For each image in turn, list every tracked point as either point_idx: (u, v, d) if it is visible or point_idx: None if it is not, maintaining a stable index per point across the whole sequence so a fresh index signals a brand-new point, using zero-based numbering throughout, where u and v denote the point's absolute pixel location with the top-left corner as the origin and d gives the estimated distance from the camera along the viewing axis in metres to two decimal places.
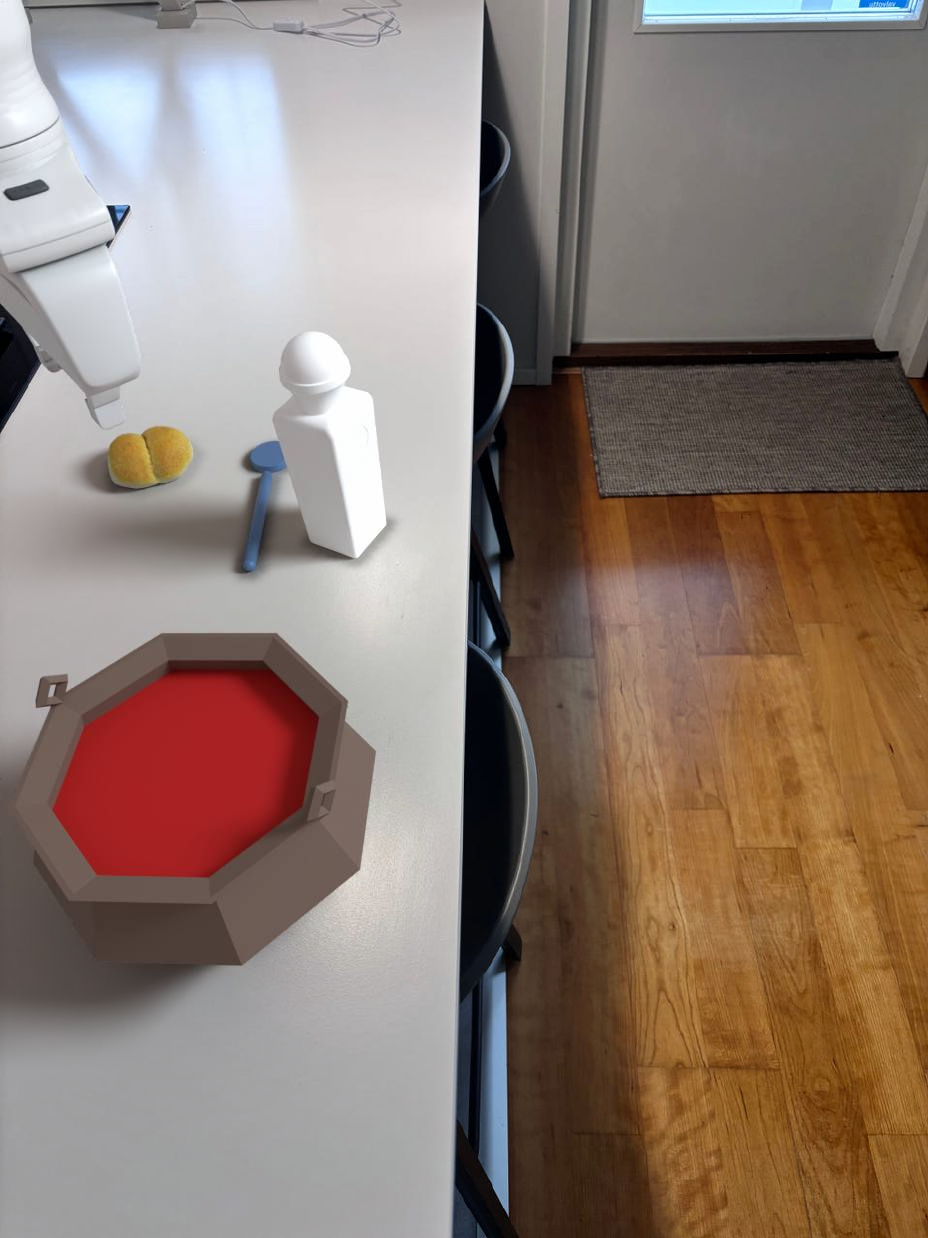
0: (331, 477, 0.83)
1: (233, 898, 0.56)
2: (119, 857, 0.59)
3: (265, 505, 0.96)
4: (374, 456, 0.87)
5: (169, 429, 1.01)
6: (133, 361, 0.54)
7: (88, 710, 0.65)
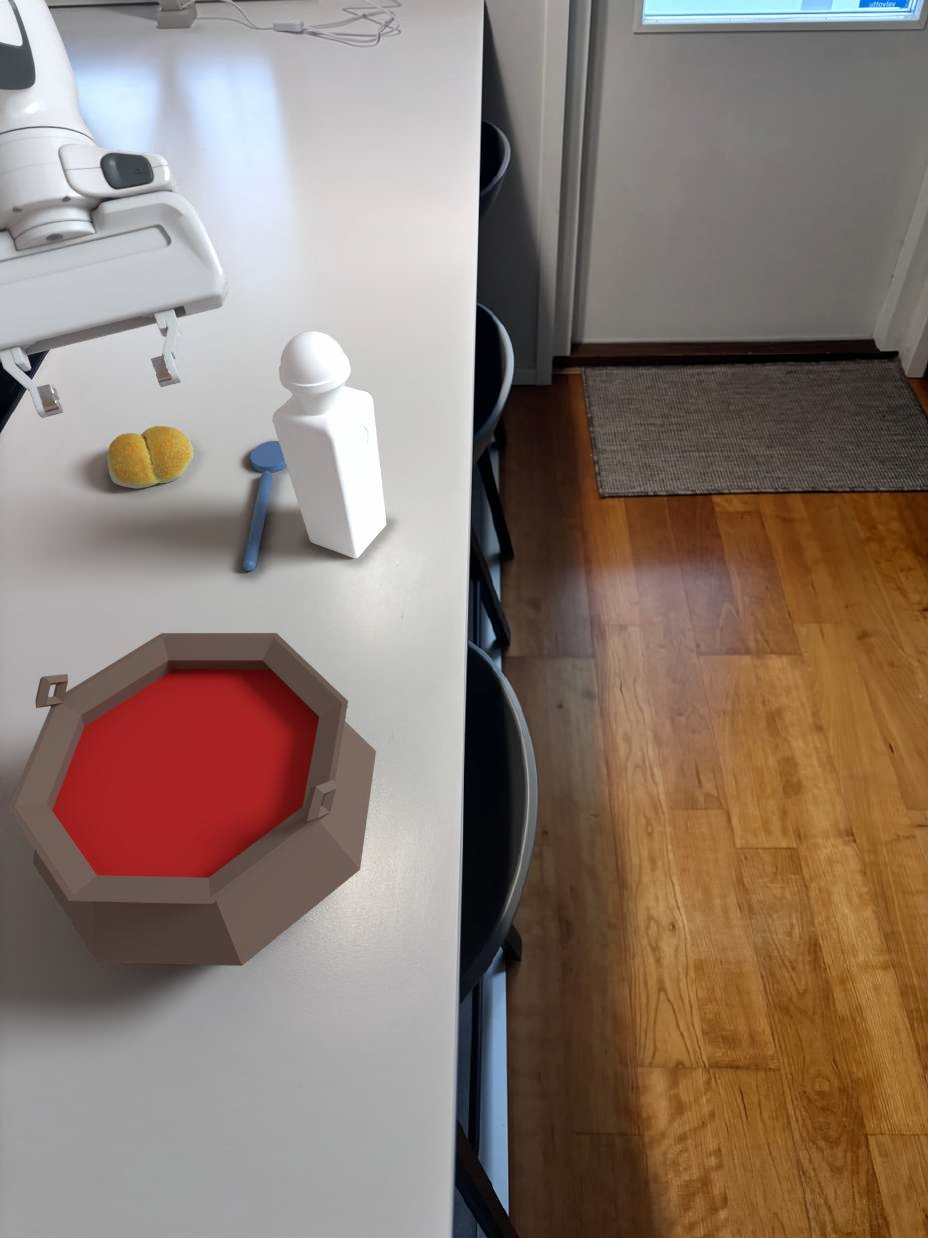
0: (331, 477, 0.83)
1: (233, 898, 0.56)
2: (119, 858, 0.59)
3: (265, 505, 0.96)
4: (374, 456, 0.87)
5: (169, 429, 1.01)
6: None
7: (88, 710, 0.65)
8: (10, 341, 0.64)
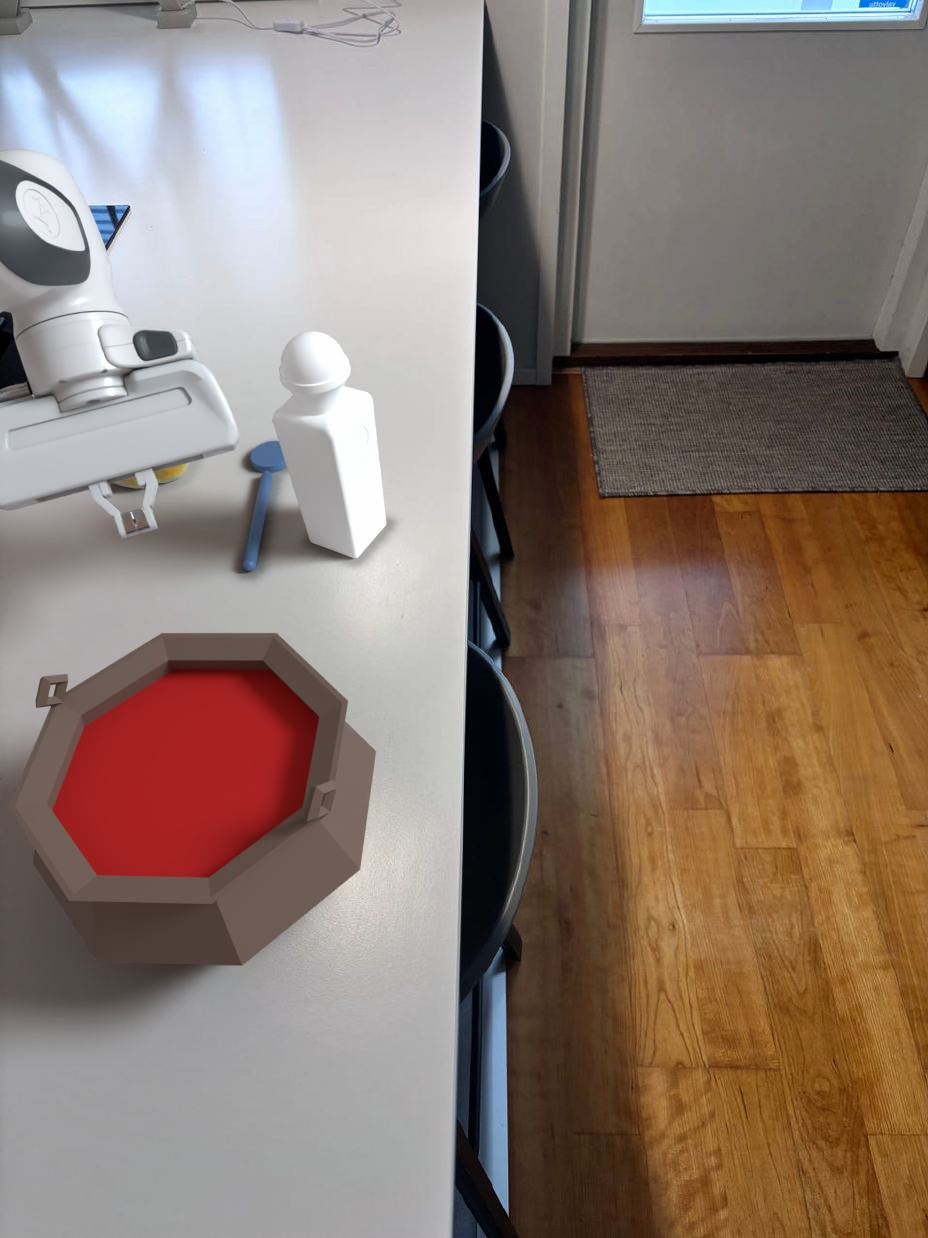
0: (331, 477, 0.83)
1: (233, 898, 0.56)
2: (119, 857, 0.59)
3: (265, 505, 0.96)
4: (374, 456, 0.87)
5: None
6: None
7: (88, 710, 0.65)
8: (54, 489, 0.74)
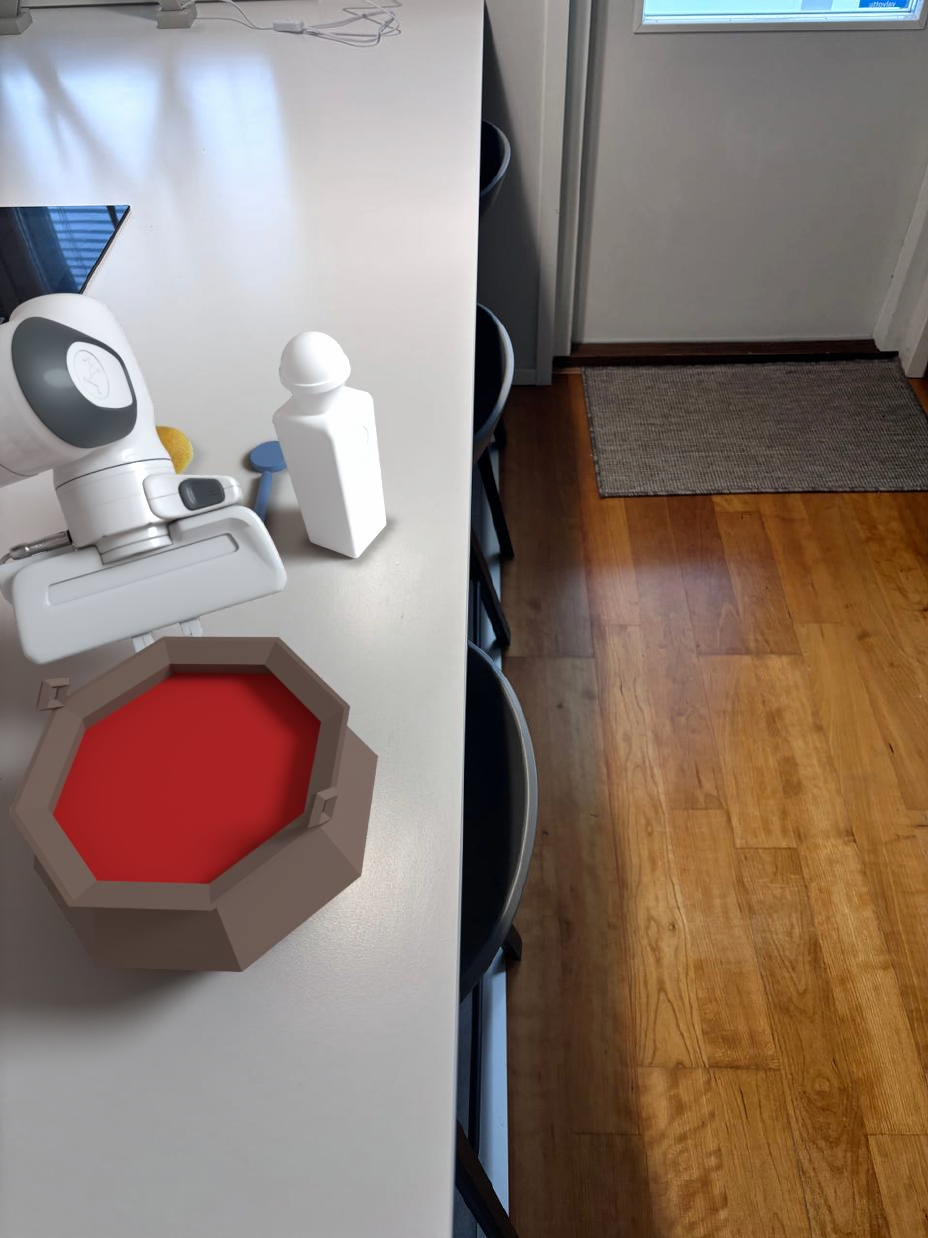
0: (331, 477, 0.83)
1: (233, 904, 0.56)
2: (119, 863, 0.59)
3: (265, 505, 0.96)
4: (374, 456, 0.87)
5: (169, 429, 1.01)
6: None
7: (89, 714, 0.64)
8: (97, 644, 0.71)
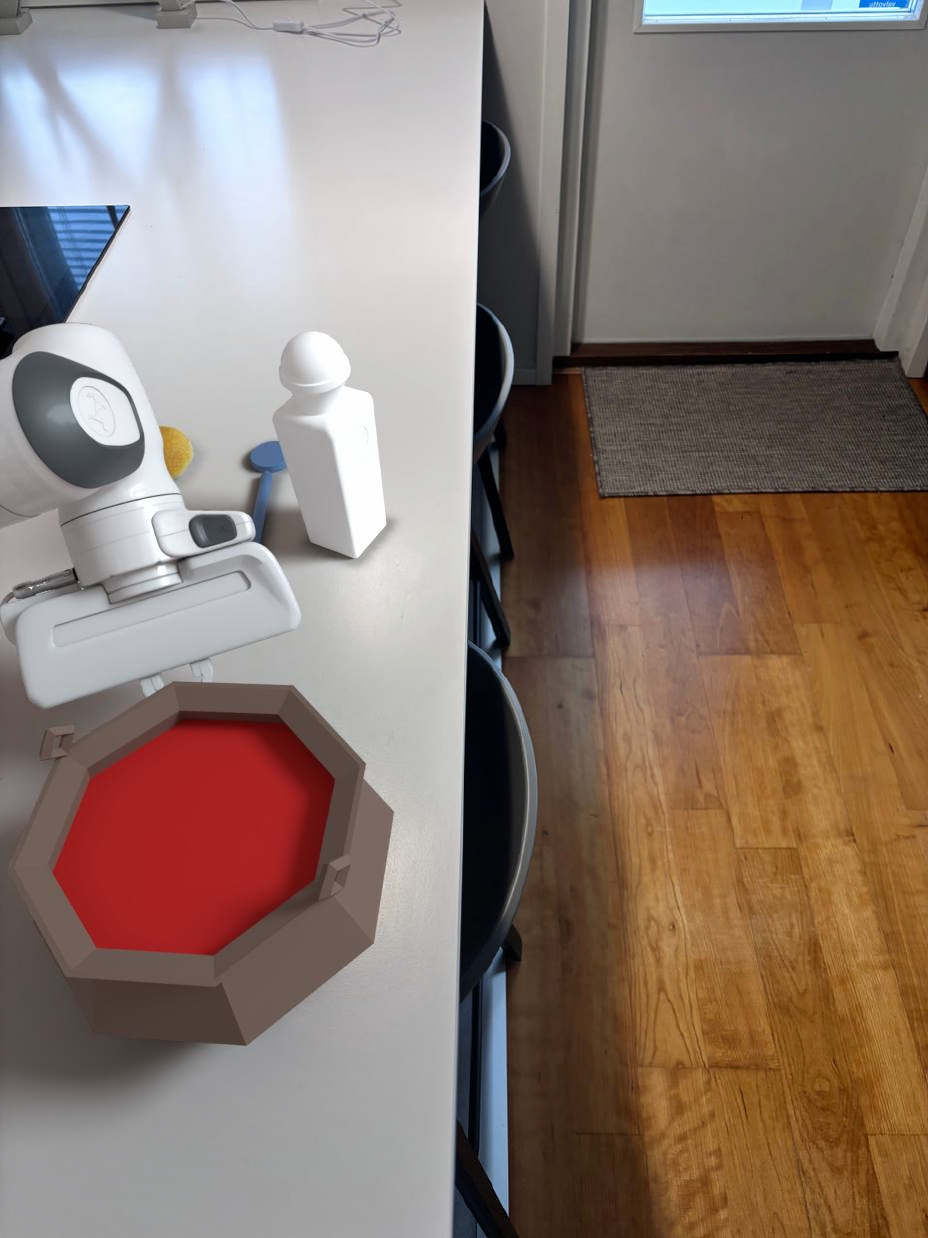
0: (331, 477, 0.83)
1: (239, 976, 0.53)
2: (121, 926, 0.56)
3: (265, 505, 0.96)
4: (374, 456, 0.87)
5: (169, 429, 1.01)
6: None
7: (94, 763, 0.62)
8: (104, 687, 0.68)
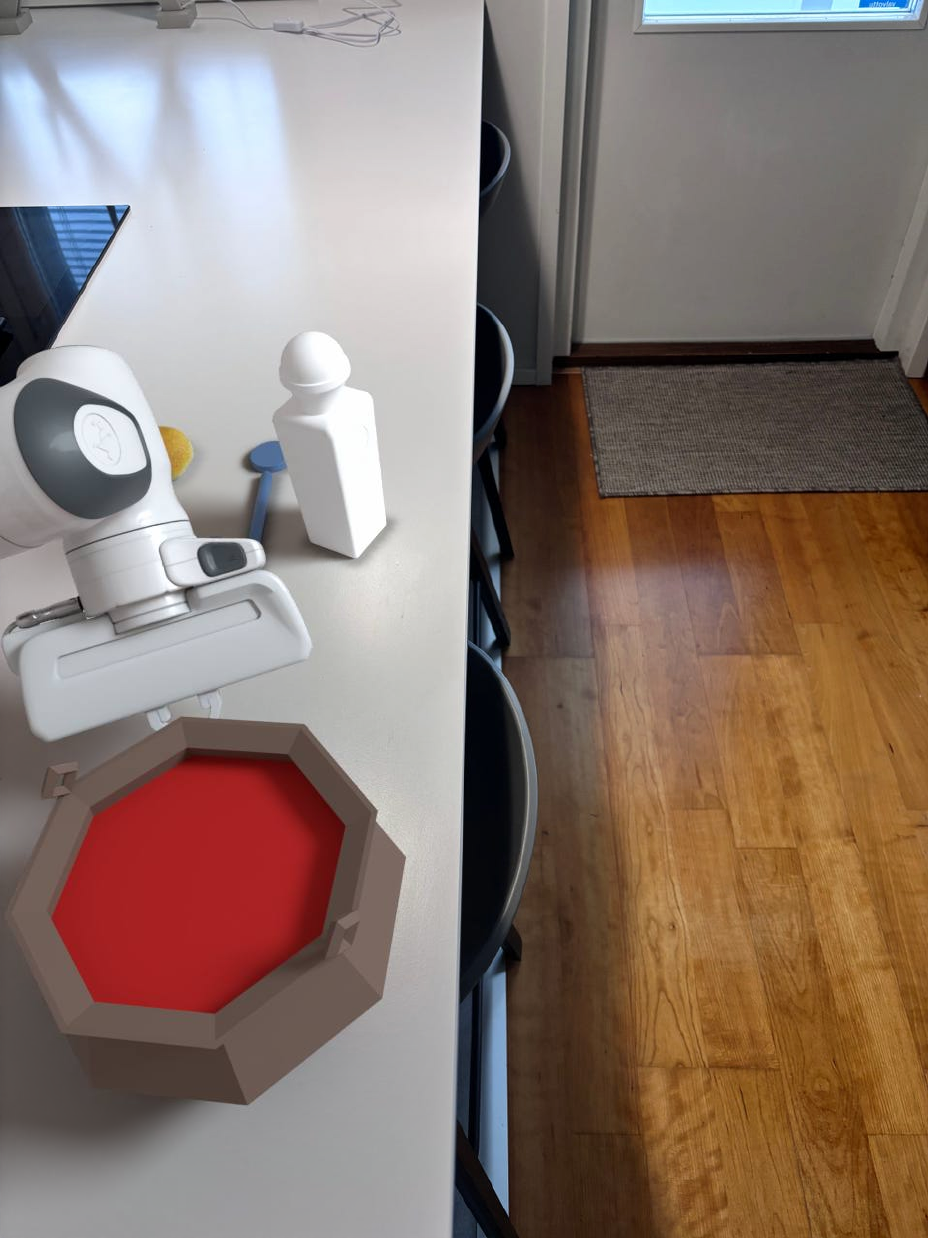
0: (331, 477, 0.83)
1: (241, 1035, 0.51)
2: (120, 977, 0.54)
3: (265, 505, 0.96)
4: (374, 456, 0.87)
5: (169, 429, 1.01)
6: None
7: (98, 802, 0.60)
8: (109, 720, 0.66)
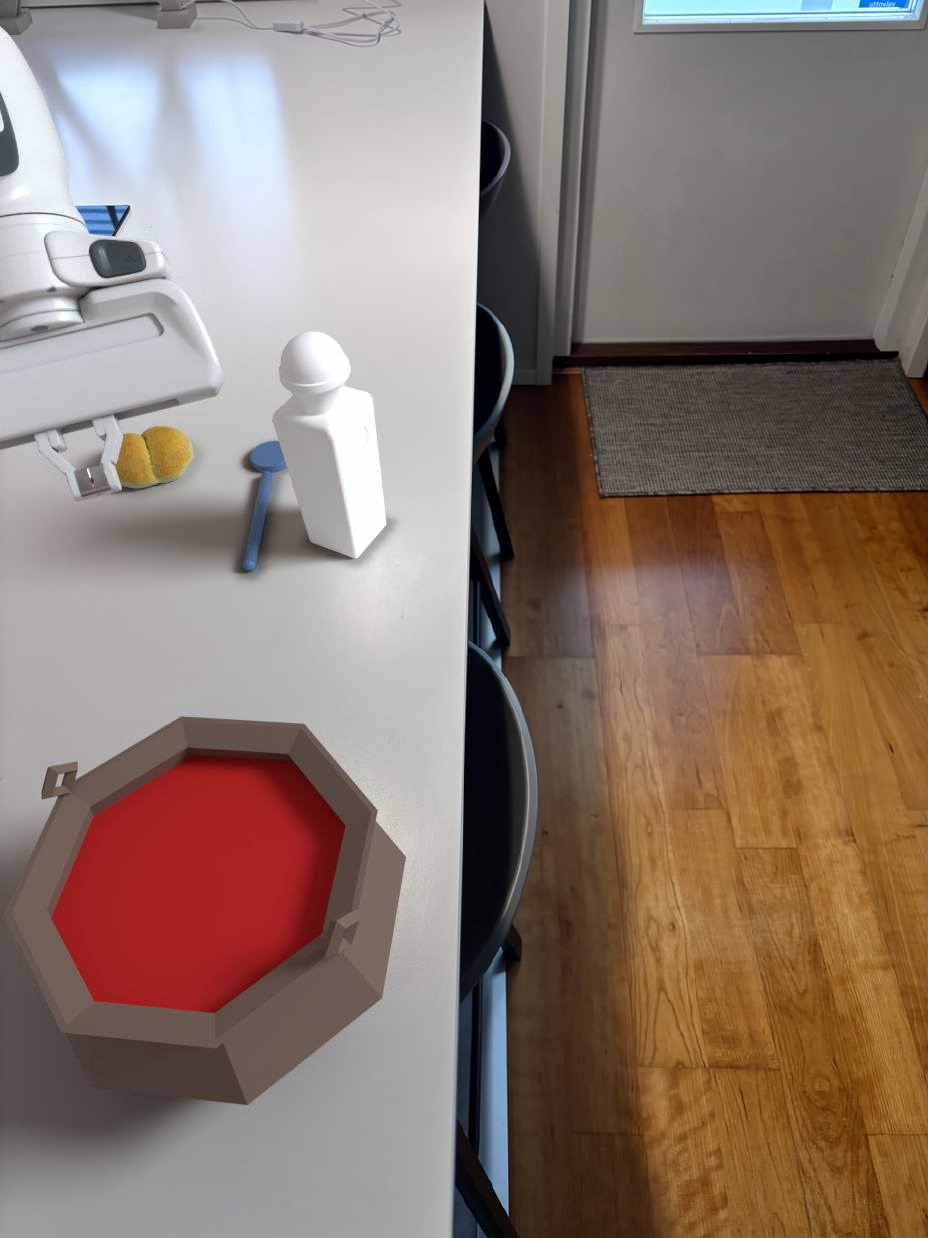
0: (331, 477, 0.83)
1: (241, 1034, 0.51)
2: (120, 976, 0.54)
3: (265, 505, 0.96)
4: (374, 456, 0.87)
5: (169, 429, 1.01)
6: None
7: (98, 801, 0.60)
8: None
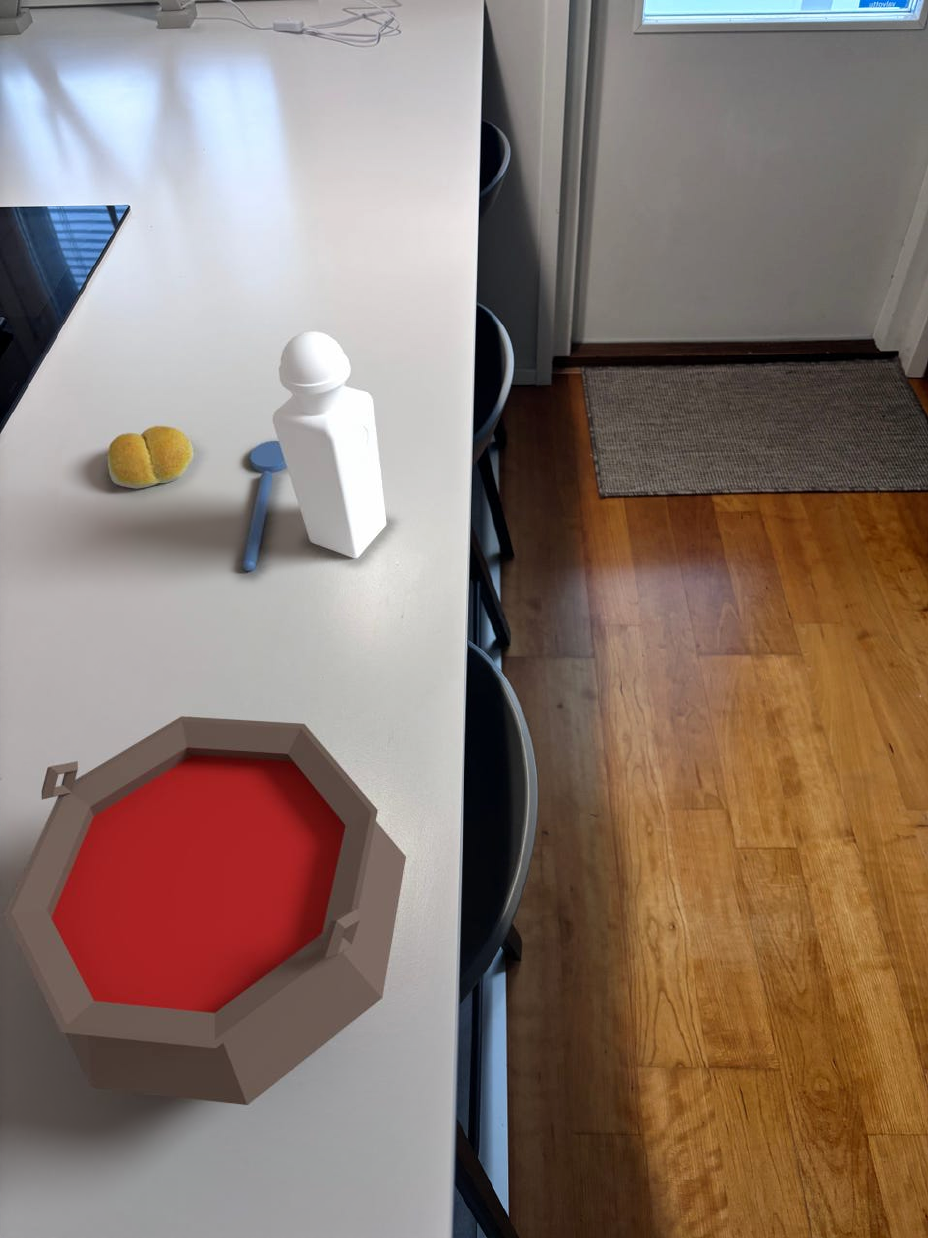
0: (331, 477, 0.83)
1: (241, 1034, 0.51)
2: (120, 976, 0.54)
3: (265, 505, 0.96)
4: (374, 456, 0.87)
5: (169, 429, 1.01)
6: None
7: (98, 801, 0.60)
8: None
